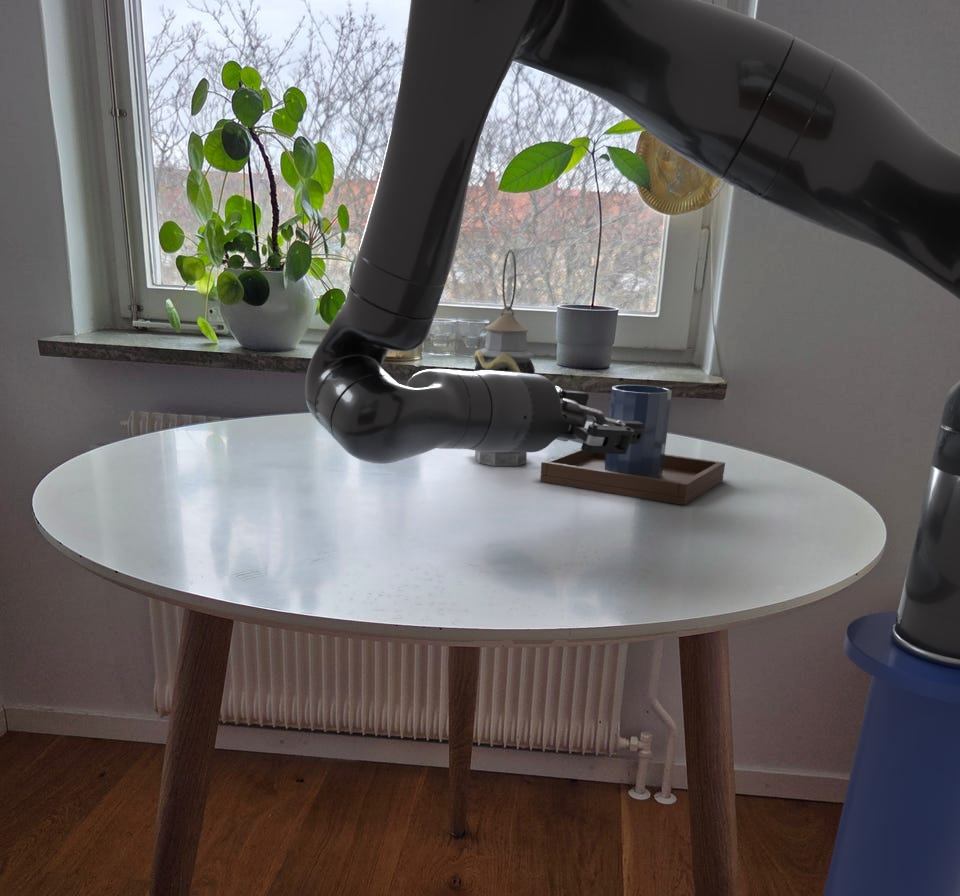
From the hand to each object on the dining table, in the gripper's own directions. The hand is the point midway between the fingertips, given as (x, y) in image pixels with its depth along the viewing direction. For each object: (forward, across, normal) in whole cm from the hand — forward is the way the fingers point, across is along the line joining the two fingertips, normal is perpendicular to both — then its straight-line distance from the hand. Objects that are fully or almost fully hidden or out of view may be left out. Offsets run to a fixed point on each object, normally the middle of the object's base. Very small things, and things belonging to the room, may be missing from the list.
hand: (611, 417), depth 100 cm
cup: (+10, +2, +8) cm, 13 cm away
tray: (+10, +2, +8) cm, 13 cm away
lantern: (+5, +18, +13) cm, 23 cm away
